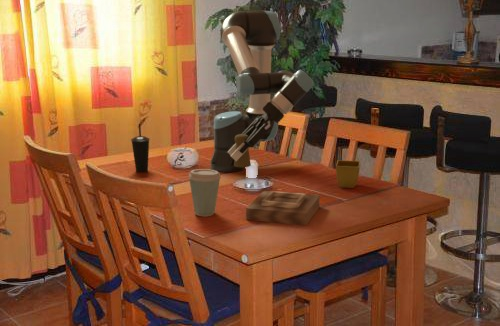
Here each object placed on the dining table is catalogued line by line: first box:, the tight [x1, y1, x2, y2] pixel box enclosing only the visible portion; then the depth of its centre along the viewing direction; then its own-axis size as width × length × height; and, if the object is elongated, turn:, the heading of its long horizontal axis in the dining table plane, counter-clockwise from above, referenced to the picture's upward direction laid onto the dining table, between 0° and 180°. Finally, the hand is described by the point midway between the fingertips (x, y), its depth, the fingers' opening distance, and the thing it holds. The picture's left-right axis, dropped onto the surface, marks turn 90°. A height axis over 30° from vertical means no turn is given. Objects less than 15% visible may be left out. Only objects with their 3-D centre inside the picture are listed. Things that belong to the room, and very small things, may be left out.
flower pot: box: [335, 159, 361, 189], centre depth 256 cm, size 9×9×9 cm
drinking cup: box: [130, 123, 151, 173], centre depth 279 cm, size 8×8×20 cm
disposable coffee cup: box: [188, 168, 221, 217], centre depth 224 cm, size 11×11×15 cm
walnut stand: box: [245, 190, 321, 226], centre depth 226 cm, size 20×20×6 cm
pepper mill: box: [234, 134, 252, 168], centre depth 236 cm, size 6×6×11 cm
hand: (231, 156), depth 236 cm, fingers closed on pepper mill, 5 cm apart
